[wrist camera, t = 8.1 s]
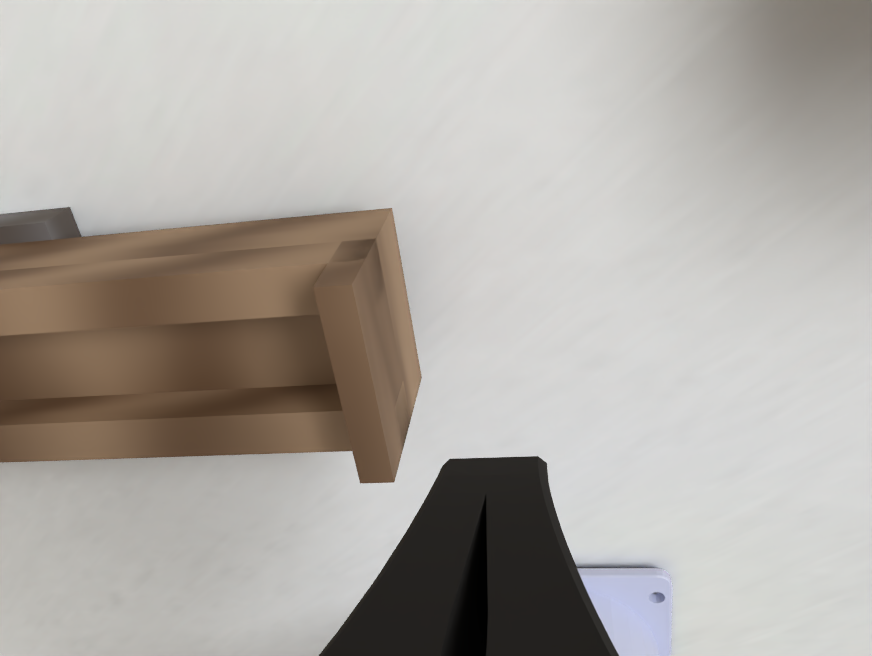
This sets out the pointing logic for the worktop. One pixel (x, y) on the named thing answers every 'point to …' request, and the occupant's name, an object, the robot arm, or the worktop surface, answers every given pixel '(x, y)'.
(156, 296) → the beam
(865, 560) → the worktop surface
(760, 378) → the worktop surface
